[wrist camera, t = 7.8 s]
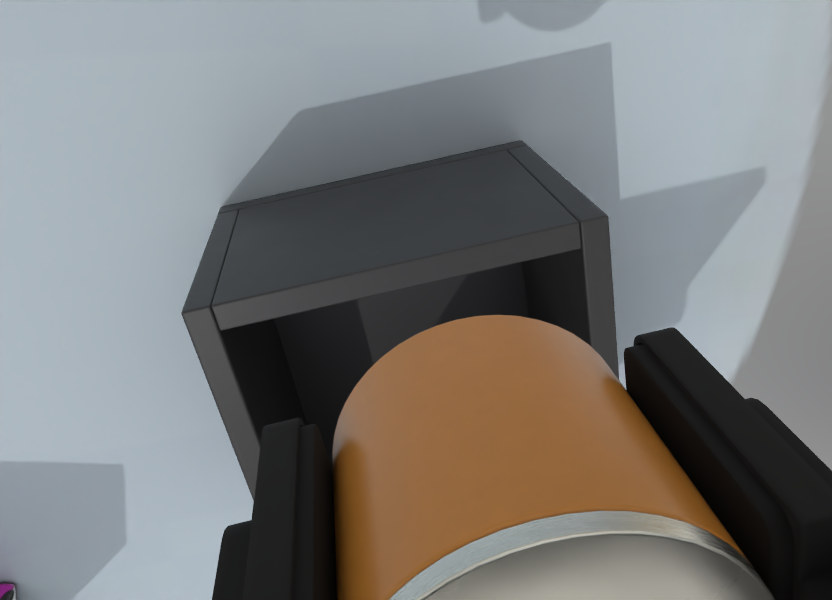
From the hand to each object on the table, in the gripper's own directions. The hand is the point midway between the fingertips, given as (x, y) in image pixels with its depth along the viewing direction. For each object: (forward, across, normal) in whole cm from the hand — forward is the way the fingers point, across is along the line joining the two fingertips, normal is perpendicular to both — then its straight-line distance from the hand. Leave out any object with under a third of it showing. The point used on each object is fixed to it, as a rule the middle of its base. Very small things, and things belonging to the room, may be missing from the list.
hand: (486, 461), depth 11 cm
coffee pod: (0, 0, 0) cm, 0 cm away
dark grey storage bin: (+18, +1, +7) cm, 19 cm away
